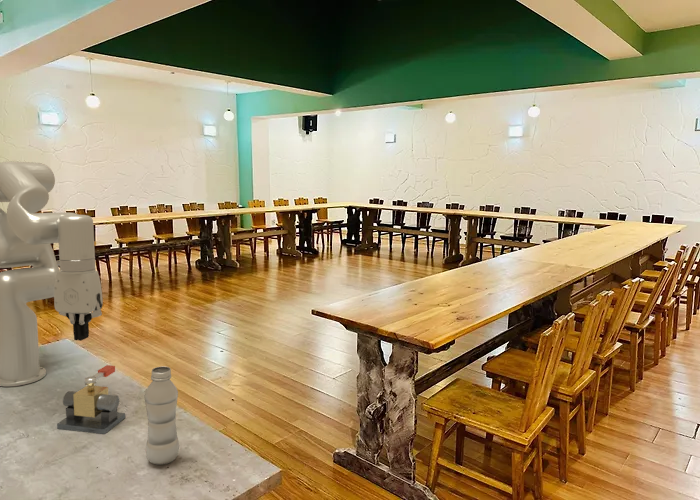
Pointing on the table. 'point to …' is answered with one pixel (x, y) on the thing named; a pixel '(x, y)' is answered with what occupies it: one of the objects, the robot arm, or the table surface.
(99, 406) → the valve
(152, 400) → the plastic bottle
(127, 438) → the table surface
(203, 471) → the table surface
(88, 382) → the lever
